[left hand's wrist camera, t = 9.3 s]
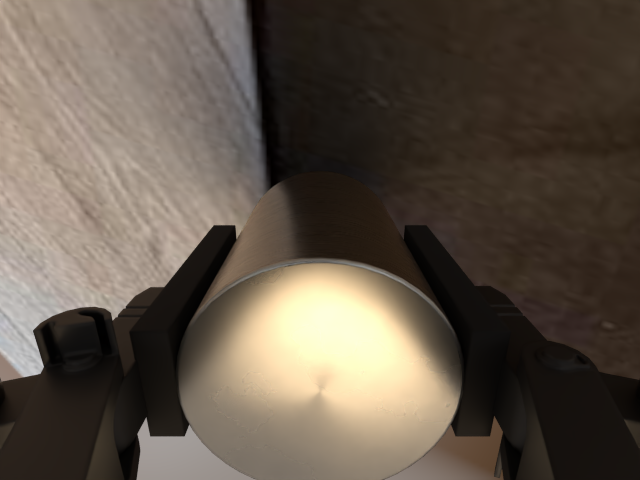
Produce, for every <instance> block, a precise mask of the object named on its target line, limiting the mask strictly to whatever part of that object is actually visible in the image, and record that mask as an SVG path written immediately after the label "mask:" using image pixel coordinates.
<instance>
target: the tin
mask: <svg viewBox="0 0 640 480" xmlns="http://www.w3.org/2000/svg"><path fill="white" fill-rule="evenodd" d="M464 377H465V371H464V358H463V354H462V350H461V345H460V342H459V340H458V337H457V335H456V333H455V330H454V328H453V326H452V324H451V323H450V321H449V319H448V317H447V316H446V314H445V312H444V310H443V309H442V307H441V305H440V303H439V302H438V300H437V298H436V296H435V294H434V293H433V291H432V289H431V287H430V286H429V284H428V282H427V280H426V279H425V277H424V275H423V273H422V272H421V270H420V268H419V266H418V265H417V263H416V261H415V259H414V257H413V256H412V254H411V252H410V250H409V249H408V247H407V245H406V243H405V242H404V240H403V238H402V236H401V235H400V233H399V231H398V229H397V228H396V226H395V224H394V222H393V220H392V219H391V217H390V215H389V213H388V212H387V210H386V208H385V207H384V205H383V203H382V202H381V201H380V199H379V198H378V197H377V196H376V194H374V193H373V192H372V191H371V190H370V189H369V188H368V187H366V186H365V185H364V184H362V183H361V182H359V181H357V180H355V179H353V178H351V177H349V176H346V175H343V174H339V173H334V172H327V171H312V172H306V173H301V174H297V175H294V176H291V177H289V178H287V179H285V180H283V181H281V182H280V183H278V184H276V185H275V186H273V187H272V188H271V189H270V190H269V191H268V192H267V193H266V194H265V195H264V196H263V197H262V198H261V199H260V201H259V202H258V204H257V205H256V207H255V208H254V210H253V212H252V214H251V215H250V217H249V219H248V221H247V222H246V224H245V226H244V228H243V229H242V231H241V233H240V235H239V236H238V238H237V240H236V242H235V244H234V245H233V247H232V249H231V251H230V252H229V254H228V256H227V258H226V259H225V261H224V263H223V265H222V266H221V268H220V270H219V272H218V274H217V275H216V277H215V279H214V281H213V282H212V284H211V286H210V288H209V289H208V291H207V293H206V295H205V296H204V298H203V300H202V302H201V304H200V305H199V307H198V309H197V311H196V312H195V314H194V316H193V318H192V319H191V321H190V323H189V325H188V327H187V329H186V331H185V333H184V336H183V338H182V340H181V343H180V347H179V351H178V354H177V362H176V386H177V392H178V397H179V401H180V405H181V407H182V410H183V412H184V415H185V417H186V419H187V421H188V423H189V424H190V426H191V428H192V430H193V431H194V432H195V434H196V435H197V436H198V438H199V439H200V440H201V442H202V443H203V444H204V445H205V446H206V447H207V448H208V449H209V450H210V451H211V452H212V453H213V454H214V455H216V456H217V457H218V458H220V459H221V460H222V461H223V462H225V463H226V464H228V465H229V466H231V467H232V468H234V469H236V470H237V471H239V472H241V473H243V474H245V475H247V476H249V477H251V478H254V479H256V480H384V479H386V478H389V477H391V476H393V475H395V474H398V473H399V472H401V471H403V470H404V469H406V468H408V467H410V466H411V465H413V464H414V463H415V462H417V461H418V460H419V459H421V458H422V457H424V456H425V455H426V454H427V453H428V452H429V451H430V450H431V449H432V448H433V447H434V446H435V445H436V444H437V443H438V442H439V440H440V439H441V438H442V437H443V436H444V434H445V433H446V431H447V430H448V428H449V426H450V425H451V423H452V422H453V420H454V417H455V415H456V413H457V411H458V408H459V405H460V402H461V398H462V394H463V387H464Z"/></svg>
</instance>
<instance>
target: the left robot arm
mask: <svg viewBox="0 0 640 480" xmlns="http://www.w3.org/2000/svg"><path fill="white" fill-rule="evenodd" d="M235 242H236V229H235V225H214V226H213V227H212V228H211V230H210V231H209V232H208V233H207V235H206V236H205V237H204V238H203V240H202V241H201V242H200V243H199V245H198V246H197V247H196V248H195V250H194V251H193V252H192V253H191V255H190V256H189V257H188V258H187V260H186V261H185V262H184V263H183V265H182V266H181V267H180V268H179V270H178V271H177V272H176V273H175V275H174V276H173V277H172V278H171V280H170V281H169V282H168V283H167V285H166V286H165V287H150V288H148V289H147V290H145V291H143V292H142V293H140V294H138V295H136V296H135V297H134V298H133V299H132V300H131V301H130V302H129V304H128V305H127V306H126V309H123V310H122V311H121V312H120V313H119V315H118V317H116V318H115V319H114V320H113V321H112V316H111V313H110V312H109V311H107V310H106V309H103V308H98V307H85V308H78V309H73V310H69V311H65V312H63V313H60V314H57V315H54V316H52V317H50V318H49V319H47V320H45V321H43V322H42V323H40V324H39V325H38V326H37V327H36V328H35V329H34V330H33V332H34V336H35V339H36V342H37V345H38V349H39V352H40V355H41V358H42V362H43V365H44V368H43V370H42V372H41V374H38V375H34V376H28V377H23V378H18V379H13V380H8V381H3V382H1V379H0V480H136V479H137V471H138V464H139V457H140V445H139V439H138V435H137V433H138V431H139V429H140V428H141V426H142V424H143V422H144V420H145V418H146V417H147V422H148V427H149V432H150V436H185V434H186V431H187V429H188V426H189V423H188V421H187V419H186V417H185V415H184V412H183V410H182V407H181V405H180V401H179V397H178V392H177V386H176V362H177V354H178V351H179V347H180V343H181V340H182V338H183V336H184V333H185V331H186V329H187V327H188V325H189V323H190V321H191V319H192V318H193V316H194V314H195V312H196V311H197V309H198V307H199V305H200V304H201V302H202V300H203V298H204V296H205V295H206V293H207V291H208V289H209V288H210V286H211V284H212V282H213V281H214V279H215V277H216V275H217V274H218V272H219V270H220V268H221V266H222V265H223V263H224V261H225V259H226V258H227V256H228V254H229V252H230V251H231V249H232V247H233V245H234V244H235ZM404 242H405V243H406V245H407V247H408V249H409V250H410V252H411V254H412V256H413V257H414V259H415V261H416V263H417V265H418V266H419V268H420V270H421V272H422V273H423V275H424V277H425V279H426V280H427V282H428V284H429V286H430V287H431V289H432V291H433V293H434V294H435V296H436V298H437V300H438V302H439V303H440V305H441V307H442V309H443V310H444V312H445V314H446V316H447V317H448V319H449V321H450V323H451V324H452V326H453V328H454V330H455V333H456V335H457V337H458V340H459V342H460V345H461V350H462V354H463V358H464V371H465V377H464V387H463V394H462V398H461V402H460V405H459V408H458V411H457V413H456V415H455V417H454V420H453V422H452V423H451V425H452V428H453V431H454V433H455V436H490V433H491V428H492V424H493V419H494V416H495V418H496V419H497V421H498V423H499V425H500V427H501V429H502V431H503V435H502V439H501V444H500V449H499V453H498V458H497V462H496V467H495V473H494V477H498V478H500V474H501V470H503V478H504V480H640V380H636V379H631V378H626V377H621V376H616V375H611V374H606V373H602V372H599V371H598V369H597V367H596V366H595V365H594V364H593V362H592V361H591V360H590V359H589V358H588V357H587V356H585V355H584V354H582V353H581V352H579V351H578V350H576V349H573V348H571V347H569V346H566V345H564V344H560V343H556V342H552V341H547V340H546V339H545V338H544V337H543V335H542V334H541V333H540V332H539V331H538V330H537V329H536V328H535V327H534V326H533V325H532V323H531V322H530V321H529V320H528V319H527V318H526V317H525V316H523V314H522V313H521V311H520V310H519V309H518V308H517V307H515V305H514V304H513V303H512V302H511V301H510V299H509V298H508V297H507V296H506V295H505V294H503V293H501V292H499V291H498V290H496V289H494V288H493V287H491V286H474V284H473V283H472V282H471V281H470V279H469V278H468V277H467V276H466V274H465V273H464V272H463V271H462V269H461V268H460V267H459V266H458V264H457V263H456V262H455V261H454V259H453V258H452V257H451V256H450V254H449V253H448V252H447V251H446V249H445V248H444V247H443V246H442V244H441V243H440V242H439V241H438V239H437V238H436V237H435V236H434V234H433V233H432V232H431V231H430V229H429V228H428V227H427V226H426V225H405V232H404Z"/></svg>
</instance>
